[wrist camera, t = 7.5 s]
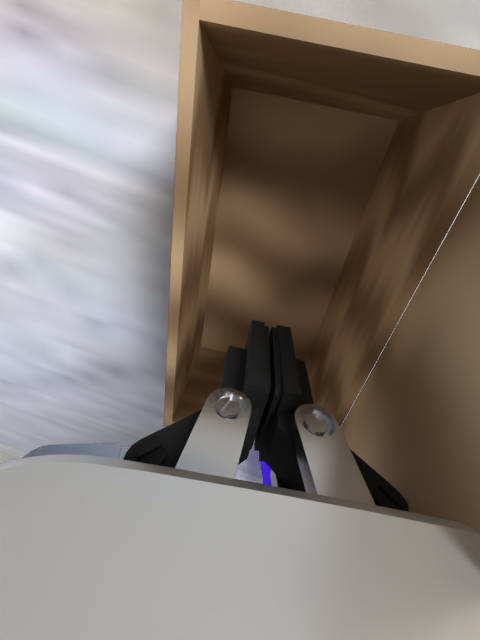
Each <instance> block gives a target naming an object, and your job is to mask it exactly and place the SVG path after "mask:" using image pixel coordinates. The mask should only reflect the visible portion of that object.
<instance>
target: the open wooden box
mask: <svg viewBox="0 0 480 640" xmlns="http://www.w3.org/2000/svg"><path fill="white" fill-rule="evenodd" d="M479 173H480V50H476V49H471V48H466V47H461V46H456V45H451V44H446V43H441V42H436V41H431V40H426V39H421V38H416V37H411V36H406V35H401V34H396V33H391V32H386V31H381V30H376V29H371V28H366V27H361V26H356V25H351V24H346V23H342V22H337V21H332V20H327V19H322V18H317V17H312V16H307V15H302V14H297V13H292V12H287V11H282V10H277V9H272V8H267V7H262V6H257V5H252V4H247V3H242V2H237V1H232V0H182V21H181V44H180V66H179V89H178V112H177V135H176V157H175V180H174V203H173V226H172V248H171V271H170V294H169V316H168V339H167V362H166V385H165V407H164V426H169V425H171V424H173V423H175V422H177V421H179V420H181V419H183V418H185V417H187V416H189V415H191V414H193V413H196V412H198V411H200V410H202V409H203V406H204V404H205V402H206V400H207V398H208V396H209V395H210V394H211V393H212V392H213V391H215V390H217V389H220V387H221V382H222V377H223V372H224V367H225V362H226V357H227V352H228V348H229V346H234V347H239V348H244V349H245V345H246V341H247V337H248V333H249V328H250V324H251V321H252V320H256V321H261V322H265V326H269V334H270V331H271V328H272V327H274V328H276V326H277V325H281V326H286V327H290V328H291V333H292V339H293V345H294V351H295V357H296V359H299V360H303V361H305V365H306V369H307V374H308V379H309V383H310V388H311V393H312V397H313V402H314V405H318V406H320V407H323V408H324V409H326V410H327V411H329V412H330V413H331V414H332V415H333V416H334V417H335V419H336V420H337V422H338V424H339V426H341V424H342V423H343V421H344V419H345V417H346V415H347V414H348V412H349V410H350V408H351V406H352V404H353V403H354V401H355V399H356V397H357V395H358V394H359V392H360V390H361V388H362V386H363V384H364V383H365V381H366V379H367V377H368V375H369V373H370V372H371V370H372V368H373V366H374V364H375V363H376V361H377V359H378V357H379V355H380V353H381V352H382V350H383V348H384V346H385V344H386V342H387V341H388V339H389V337H390V335H391V333H392V332H393V330H394V328H395V326H396V324H397V322H398V321H399V319H400V317H401V315H402V313H403V312H404V310H405V308H406V306H407V304H408V302H409V301H410V299H411V297H412V295H413V293H414V291H415V290H416V288H417V286H418V284H419V282H420V281H421V279H422V277H423V275H424V273H425V271H426V270H427V268H428V266H429V264H430V262H431V261H432V259H433V257H434V255H435V253H436V251H437V250H438V248H439V246H440V244H441V242H442V240H443V239H444V237H445V235H446V233H447V231H448V230H449V228H450V226H451V224H452V222H453V220H454V219H455V217H456V215H457V213H458V211H459V210H460V208H461V206H462V204H463V202H464V200H465V199H466V197H467V195H468V193H469V191H470V189H471V188H472V186H473V184H474V182H475V180H476V179H477V177H478V175H479ZM253 444H255V439H254V442H253Z"/></svg>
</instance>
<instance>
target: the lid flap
mask: <svg viewBox="0 0 480 640" xmlns="http://www.w3.org/2000/svg"><path fill="white" fill-rule="evenodd" d="M341 430H342V433H343V435H344V437H345V439H346V441H347V444H348V446H349V448H350V449H351V450H352V451H353V452H354V453H355V454H357V455H358V456H359V457H360V458H361V459H362V460H363V461H365V462H366V463H367V464H368V465H369V466H370V467H372V468H373V469H374V470H375V471H376V472H377V473H378V474H380V475H381V476H382V477H383V478H384V479H385V480H386V481H388V482H389V483H390V484H391V485H392V486H393V487H395V488H396V489H397V491H398V492H399V493H400V494H401V495H402V496H403V497H404V499H405V500H406V502H407V503H408V510H409V512H412V513H417V514H422V515H427V516H432V517H437V518H441V519H446V520H451V521H456V522H460V523H463V524H465V525H467V526H469V527H471V528H473V529H474V530H476V531H477V532H479V533H480V176H479V178H478V180H477V182H476V184H475V185H474V187H473V189H472V191H471V193H470V194H469V196H468V198H467V200H466V202H465V203H464V205H463V207H462V209H461V211H460V213H459V214H458V216H457V218H456V220H455V222H454V223H453V225H452V227H451V229H450V231H449V232H448V234H447V236H446V238H445V240H444V241H443V243H442V245H441V247H440V249H439V251H438V252H437V254H436V256H435V258H434V260H433V261H432V263H431V265H430V267H429V269H428V270H427V272H426V274H425V276H424V278H423V280H422V281H421V283H420V285H419V287H418V289H417V290H416V292H415V294H414V296H413V298H412V299H411V301H410V303H409V305H408V307H407V309H406V310H405V312H404V314H403V316H402V318H401V319H400V321H399V323H398V325H397V327H396V328H395V330H394V332H393V334H392V336H391V338H390V339H389V341H388V343H387V345H386V347H385V348H384V350H383V352H382V354H381V356H380V357H379V359H378V361H377V363H376V365H375V367H374V368H373V370H372V372H371V374H370V376H369V377H368V379H367V381H366V383H365V385H364V386H363V388H362V390H361V392H360V394H359V396H358V397H357V399H356V401H355V403H354V405H353V406H352V408H351V410H350V412H349V414H348V415H347V417H346V419H345V421H344V423H343V425H342V426H341Z"/></svg>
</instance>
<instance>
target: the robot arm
mask: <svg viewBox="0 0 480 640" xmlns="http://www.w3.org/2000/svg"><path fill="white" fill-rule="evenodd" d="M254 439H255V450H257V451H259V461H264V462H265V463H266V464H267V465H268V466H269V467H270V468H271V473H270V475H271V484H272V486H270V485H264V484H259V483H253V482H248V481H243V480H237V479H235V475H236V471H237V467H238V465H239V464H240V463H241V462H243V461H244V460H245V459H247V457H248V454H249V451H250V449H251V448H252V445H253V442H254ZM0 640H480V533H479V532H477V531H476V530H474V529H473V528H471V527H469V526H467V525H465V524H463V523H460V522H456V521H451V520H446V519H441V518H437V517H432V516H427V515H422V514H417V513H412V512H409V510H408V503H407V502H406V500H405V499H404V497H403V496H402V495H401V494H400V493H399V492H398V491H397V489H396V488H395V487H393V486H392V485H391V484H390V483H389V482H388V481H386V480H385V479H384V478H383V477H382V476H381V475H380V474H378V473H377V472H376V471H375V470H374V469H373V468H372V467H370V466H369V465H368V464H367V463H366V462H365V461H363V460H362V459H361V458H360V457H359V456H358V455H357V454H355V453H354V452H353V451H352V450H351V449H350V448H349V446H348V444H347V441H346V439H345V437H344V435H343V433H342V430H341V428H340V426H339V424H338V422H337V420H336V419H335V417H334V416H333V415H332V414H331V413H330V412H329V411H327V410H326V409H324V408H323V407H320V406H318V405H314V402H313V397H312V393H311V388H310V383H309V379H308V374H307V369H306V365H305V361H303V360H299V359H296V357H295V351H294V345H293V339H292V333H291V328H290V327H286V326H281V325H277V326H276V328H274V327H272V328H271V331H270V334H269V326H265V322H261V321H256V320H252V321H251V324H250V328H249V333H248V337H247V341H246V345H245V349H244V348H239V347H234V346H229V348H228V352H227V357H226V362H225V367H224V372H223V377H222V382H221V387H220V389H217V390H215V391H213V392H212V393H211V394H210V395H209V396H208V398H207V400H206V402H205V404H204V406H203V409H202V410H200V411H198V412H196V413H193V414H191V415H189V416H187V417H185V418H183V419H181V420H179V421H177V422H175V423H173V424H171V425H169V426H167V427H165V428H163V429H161V430H159V431H157V432H155V433H153V434H151V435H149V436H147V437H145V438H143V439H141V440H139V441H138V442H136V443H135V444H133V445H132V446H121V443H93V444H57V445H47V446H41V447H39V448H37V449H35V450H32V451H30V452H29V453H28V454H26V455H25V456H24V457H23V458H21V459H16V460H11V461H7V462H3V463H0Z"/></svg>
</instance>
